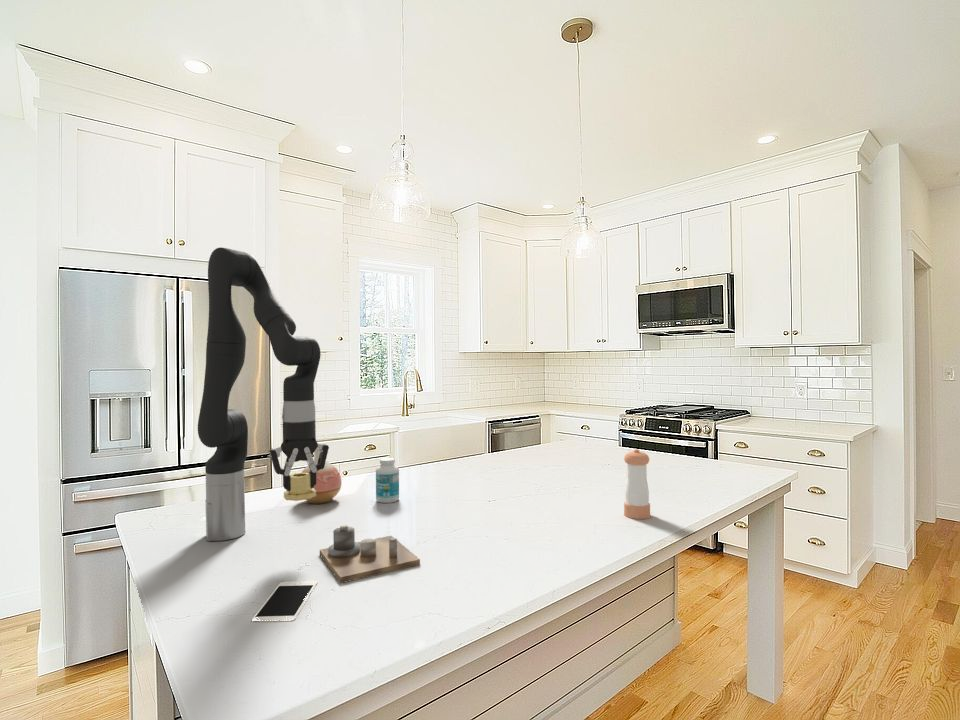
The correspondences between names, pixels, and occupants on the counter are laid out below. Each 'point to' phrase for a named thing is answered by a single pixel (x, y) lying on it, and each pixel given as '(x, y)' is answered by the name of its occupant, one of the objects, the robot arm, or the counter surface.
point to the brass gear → (300, 487)
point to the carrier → (365, 555)
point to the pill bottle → (387, 481)
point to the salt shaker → (636, 486)
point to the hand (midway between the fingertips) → (300, 488)
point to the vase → (325, 482)
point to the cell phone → (285, 600)
